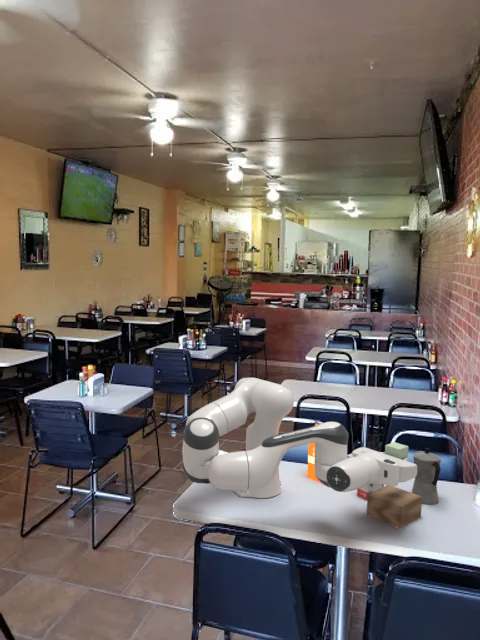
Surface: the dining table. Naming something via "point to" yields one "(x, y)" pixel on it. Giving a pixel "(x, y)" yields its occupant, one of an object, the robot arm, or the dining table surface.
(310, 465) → the orange juice
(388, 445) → the sage block
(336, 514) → the dining table surface
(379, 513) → the walnut block
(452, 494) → the dining table surface
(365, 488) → the ink box
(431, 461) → the coffeepot
